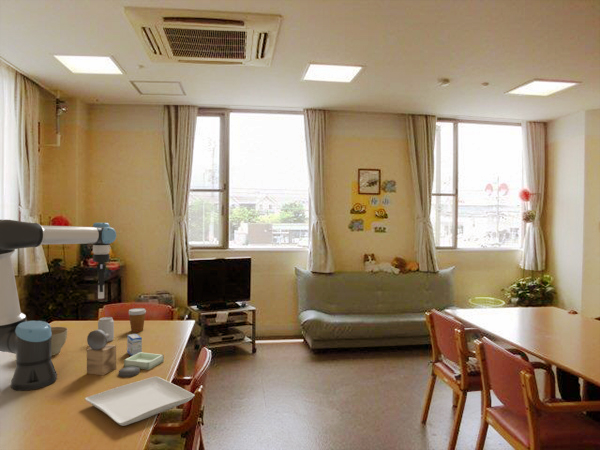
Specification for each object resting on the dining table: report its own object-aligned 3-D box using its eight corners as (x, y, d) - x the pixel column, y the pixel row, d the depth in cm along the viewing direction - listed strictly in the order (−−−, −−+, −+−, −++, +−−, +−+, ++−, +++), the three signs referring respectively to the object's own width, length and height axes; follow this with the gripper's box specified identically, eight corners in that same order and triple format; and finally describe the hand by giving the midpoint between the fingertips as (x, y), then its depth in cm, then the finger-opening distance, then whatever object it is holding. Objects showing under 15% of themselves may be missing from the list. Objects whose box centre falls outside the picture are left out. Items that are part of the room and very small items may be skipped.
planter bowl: (30, 351, 200) (29, 329, 200) (68, 346, 207) (68, 325, 207) (25, 362, 186) (25, 338, 185) (67, 356, 193) (66, 333, 193)
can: (107, 343, 213) (107, 320, 213) (94, 342, 214) (94, 319, 214) (116, 339, 220) (116, 316, 220) (104, 338, 222) (104, 316, 222)
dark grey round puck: (130, 378, 168) (130, 374, 168) (114, 375, 170) (114, 372, 170) (143, 370, 176) (143, 367, 176) (127, 368, 178) (127, 365, 178)
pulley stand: (102, 375, 171) (102, 331, 170) (86, 373, 173) (86, 330, 172) (116, 368, 178) (116, 326, 178) (101, 366, 181) (100, 325, 180)
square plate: (196, 404, 145) (196, 393, 145) (119, 435, 125) (119, 422, 125) (156, 383, 163) (156, 373, 163) (83, 407, 143) (83, 396, 143)
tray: (148, 369, 177) (148, 362, 177) (124, 366, 180) (124, 359, 180) (163, 361, 187) (163, 354, 187) (139, 358, 191) (139, 352, 191)
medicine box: (127, 352, 199) (126, 334, 198) (136, 350, 201) (136, 333, 201) (132, 357, 193) (132, 338, 192) (142, 355, 195) (142, 336, 195)
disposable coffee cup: (127, 329, 239) (127, 308, 239) (145, 327, 243) (145, 307, 243) (128, 333, 230) (128, 312, 230) (146, 331, 234) (146, 310, 234)
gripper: (110, 255, 197) (109, 299, 197) (109, 251, 219) (108, 291, 219) (92, 255, 193) (92, 301, 194) (93, 251, 216) (92, 292, 216)
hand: (101, 296), depth 206 cm, fingers open, 13 cm apart
